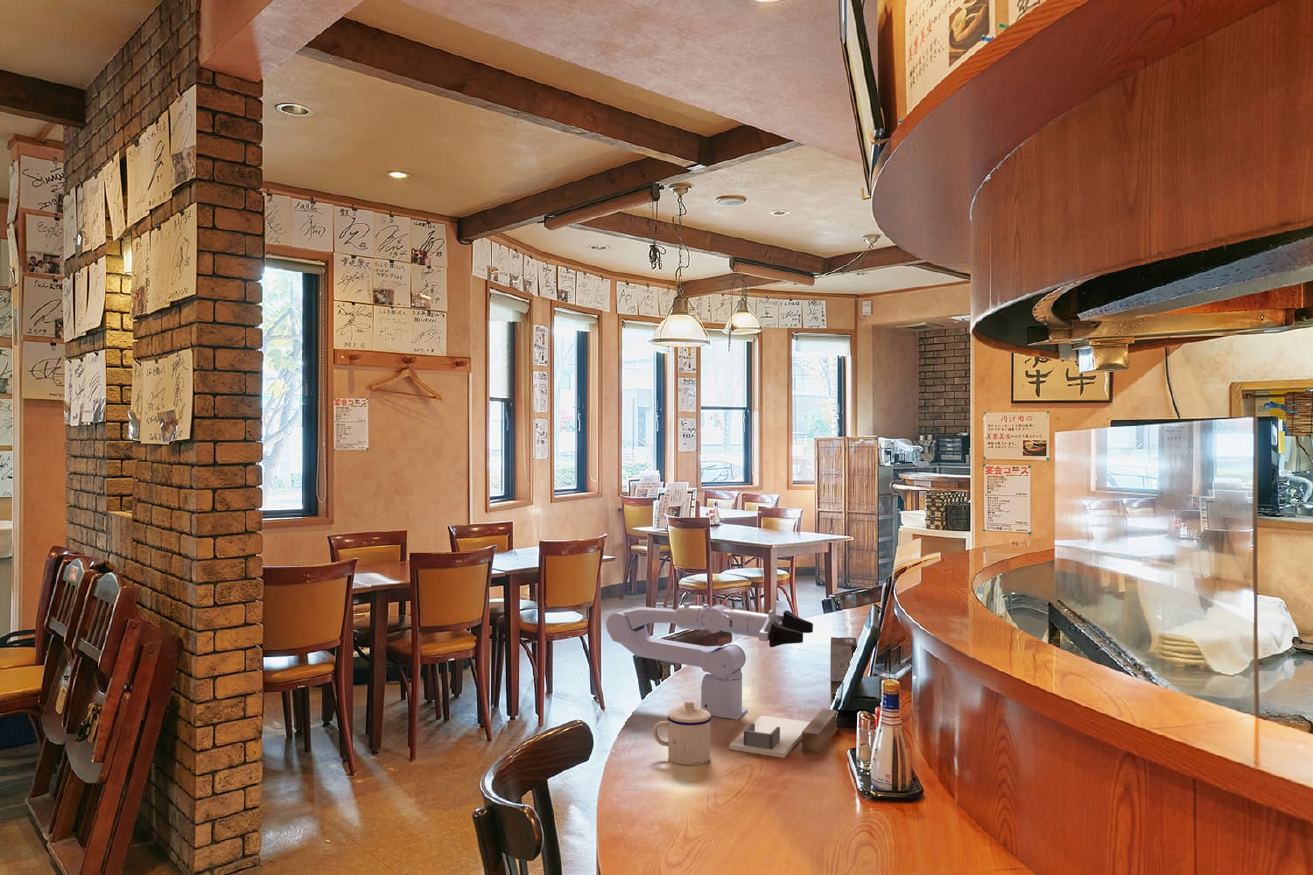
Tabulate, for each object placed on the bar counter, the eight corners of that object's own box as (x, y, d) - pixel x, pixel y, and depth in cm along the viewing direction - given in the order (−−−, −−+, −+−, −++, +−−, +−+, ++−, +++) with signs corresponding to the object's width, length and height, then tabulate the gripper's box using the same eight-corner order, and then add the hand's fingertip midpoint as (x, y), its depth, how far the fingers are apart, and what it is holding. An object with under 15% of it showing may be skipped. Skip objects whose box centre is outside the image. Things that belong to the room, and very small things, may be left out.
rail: (801, 753, 185) (801, 731, 185) (822, 728, 202) (822, 708, 202) (818, 755, 184) (818, 734, 184) (837, 730, 200) (837, 710, 200)
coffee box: (857, 712, 212) (857, 645, 213) (830, 710, 214) (830, 644, 214) (856, 701, 221) (856, 637, 221) (830, 699, 223) (830, 635, 223)
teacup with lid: (713, 751, 185) (713, 696, 185) (709, 767, 176) (709, 709, 176) (656, 748, 187) (656, 693, 187) (650, 764, 178) (650, 706, 178)
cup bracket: (729, 749, 187) (729, 730, 187) (761, 719, 207) (761, 702, 207) (784, 757, 182) (784, 738, 182) (811, 726, 202) (811, 709, 202)
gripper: (741, 616, 202) (798, 625, 196) (762, 599, 215) (817, 607, 209) (740, 646, 203) (797, 655, 196) (762, 627, 215) (816, 636, 209)
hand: (807, 632), depth 203 cm, fingers open, 7 cm apart
